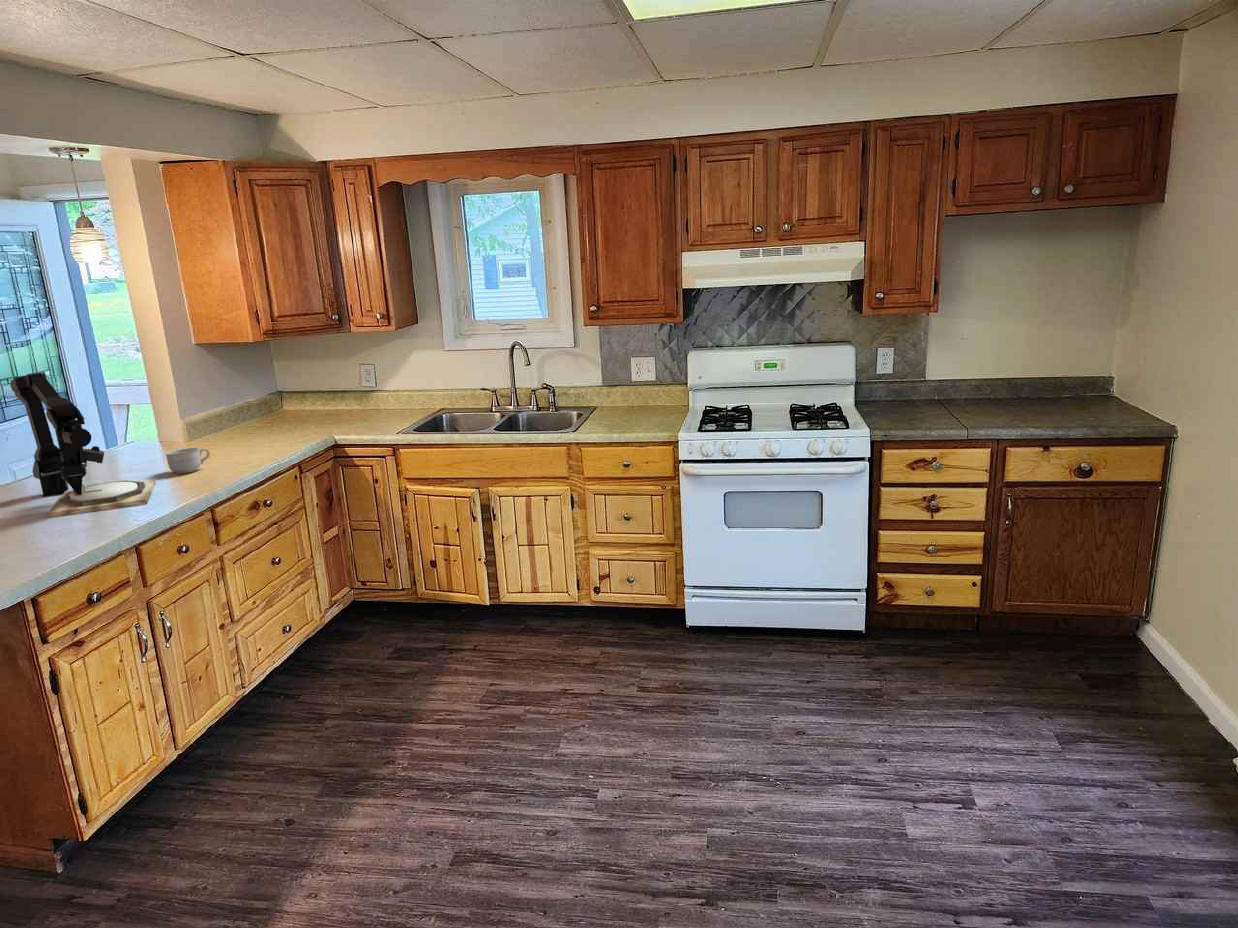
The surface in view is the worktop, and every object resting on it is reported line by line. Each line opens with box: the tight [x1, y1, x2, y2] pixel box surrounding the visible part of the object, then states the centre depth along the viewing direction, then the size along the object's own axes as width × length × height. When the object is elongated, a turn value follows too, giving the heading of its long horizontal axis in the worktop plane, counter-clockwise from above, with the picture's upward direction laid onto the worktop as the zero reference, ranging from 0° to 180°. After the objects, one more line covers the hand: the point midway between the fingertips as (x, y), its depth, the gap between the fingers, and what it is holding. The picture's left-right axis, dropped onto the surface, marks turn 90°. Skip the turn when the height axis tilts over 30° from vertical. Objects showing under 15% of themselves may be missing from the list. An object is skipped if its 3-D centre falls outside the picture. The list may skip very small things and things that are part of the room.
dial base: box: [47, 479, 157, 518], centre depth 257 cm, size 26×26×3 cm
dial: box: [69, 481, 138, 500], centre depth 257 cm, size 19×19×4 cm
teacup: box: [165, 447, 211, 474], centre depth 289 cm, size 14×11×8 cm
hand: (80, 491), depth 253 cm, fingers open, 9 cm apart
